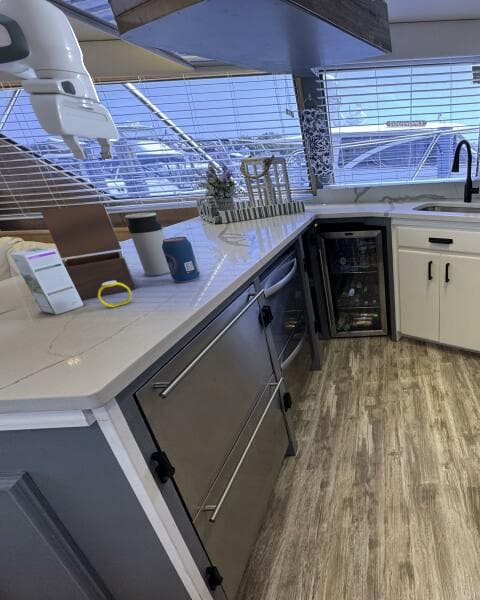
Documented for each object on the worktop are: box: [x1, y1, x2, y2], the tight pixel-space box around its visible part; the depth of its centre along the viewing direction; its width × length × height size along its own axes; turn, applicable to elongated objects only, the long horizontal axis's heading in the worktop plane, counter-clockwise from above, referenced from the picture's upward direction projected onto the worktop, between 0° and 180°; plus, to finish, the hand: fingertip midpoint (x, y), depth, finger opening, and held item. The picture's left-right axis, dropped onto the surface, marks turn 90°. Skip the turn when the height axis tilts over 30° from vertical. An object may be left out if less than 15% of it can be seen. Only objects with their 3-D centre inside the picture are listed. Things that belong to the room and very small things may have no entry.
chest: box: [61, 250, 136, 301], centre depth 87 cm, size 12×13×9 cm
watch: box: [97, 281, 132, 309], centre depth 77 cm, size 6×3×6 cm, turn 132°
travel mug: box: [124, 212, 171, 277], centre depth 98 cm, size 8×8×18 cm
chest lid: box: [39, 204, 122, 259], centre depth 87 cm, size 12×13×1 cm
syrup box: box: [9, 247, 84, 315], centre depth 74 cm, size 6×6×14 cm
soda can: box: [162, 236, 201, 284], centre depth 92 cm, size 7×7×12 cm
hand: (96, 159), depth 76 cm, fingers open, 8 cm apart
